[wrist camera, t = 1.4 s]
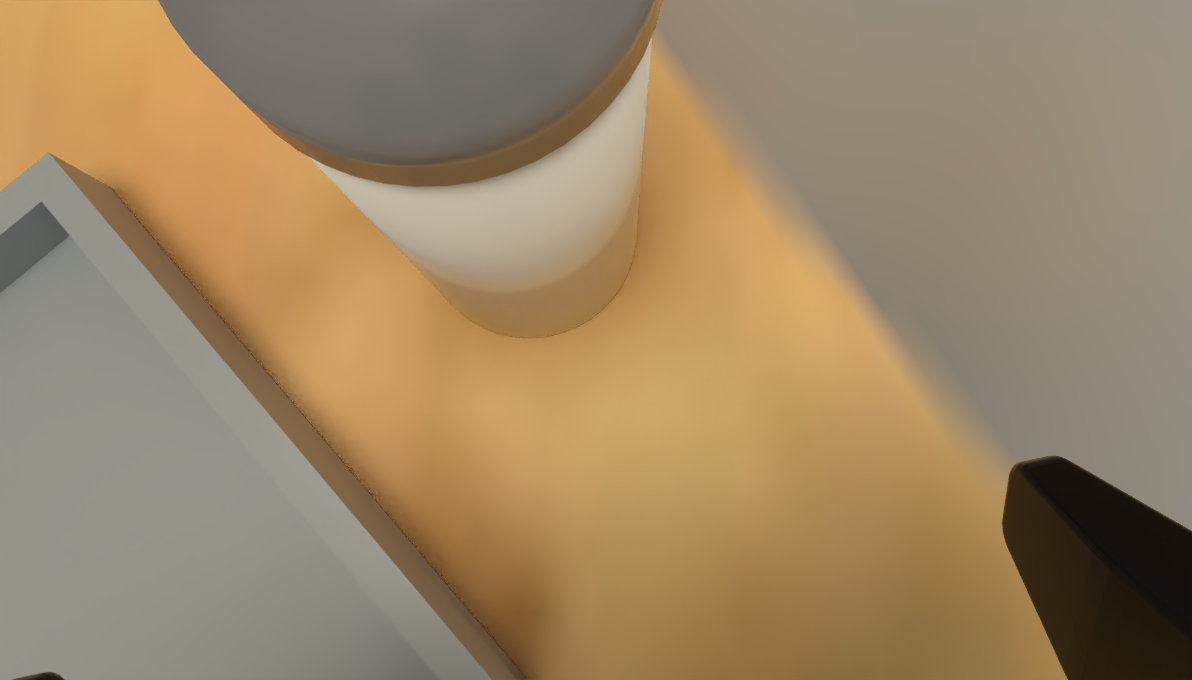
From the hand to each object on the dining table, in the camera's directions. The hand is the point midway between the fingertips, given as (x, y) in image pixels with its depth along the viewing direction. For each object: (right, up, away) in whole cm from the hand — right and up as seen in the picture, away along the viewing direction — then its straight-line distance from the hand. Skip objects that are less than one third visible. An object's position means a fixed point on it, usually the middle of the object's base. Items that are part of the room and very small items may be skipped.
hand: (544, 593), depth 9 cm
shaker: (-1, +5, +14) cm, 15 cm away
